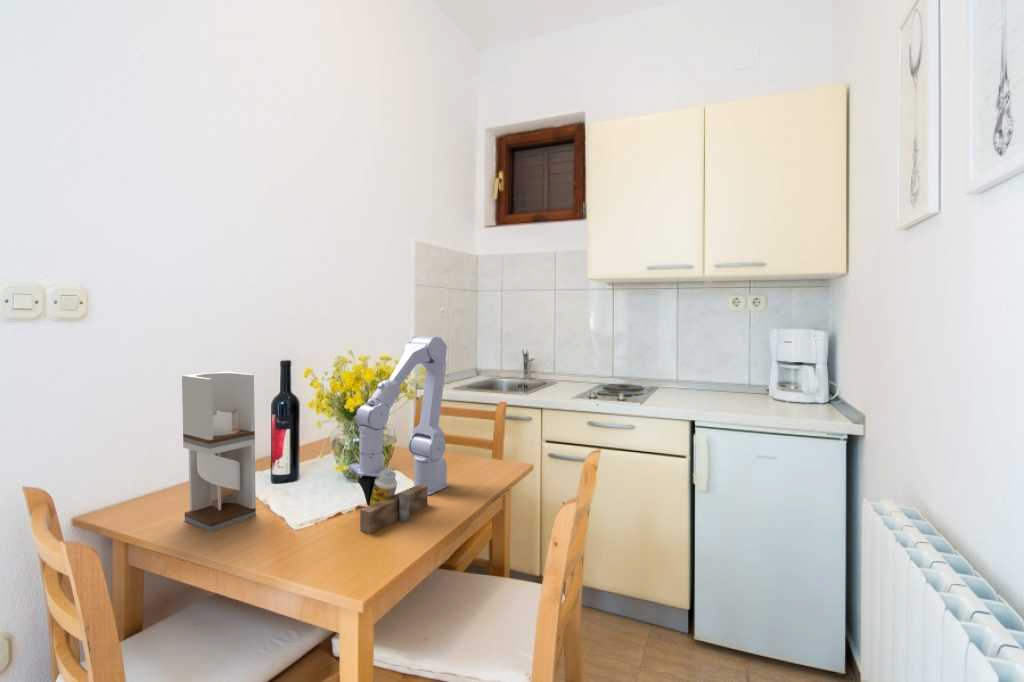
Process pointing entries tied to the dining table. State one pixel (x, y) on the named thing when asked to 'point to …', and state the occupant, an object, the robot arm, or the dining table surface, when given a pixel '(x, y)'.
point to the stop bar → (393, 509)
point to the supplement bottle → (383, 487)
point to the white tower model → (219, 448)
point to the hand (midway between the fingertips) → (371, 504)
